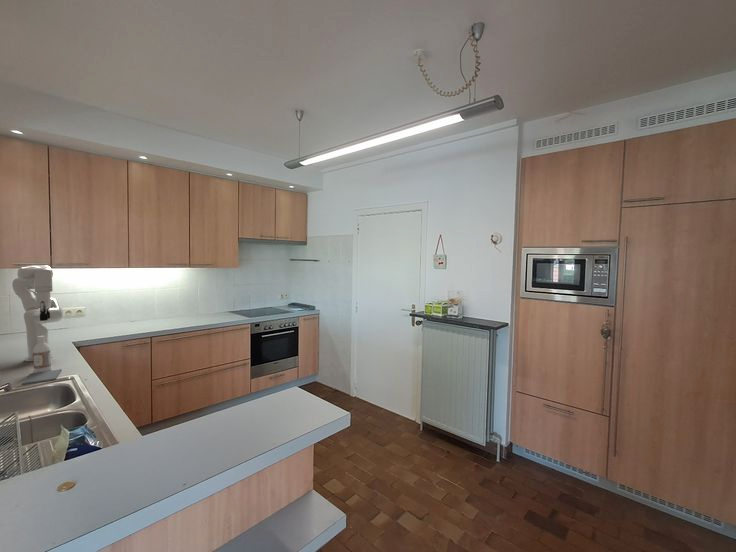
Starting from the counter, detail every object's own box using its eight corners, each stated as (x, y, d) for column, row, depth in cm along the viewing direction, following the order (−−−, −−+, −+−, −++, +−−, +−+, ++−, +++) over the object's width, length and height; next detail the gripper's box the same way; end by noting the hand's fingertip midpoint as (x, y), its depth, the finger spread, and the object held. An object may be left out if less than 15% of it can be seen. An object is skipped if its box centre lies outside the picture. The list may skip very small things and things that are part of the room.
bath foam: (30, 373, 184) (28, 337, 183) (39, 369, 191) (38, 335, 190) (45, 372, 186) (43, 337, 184) (54, 368, 192) (52, 334, 191)
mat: (30, 374, 182) (30, 373, 182) (61, 370, 189) (61, 369, 189) (21, 384, 168) (21, 383, 168) (55, 379, 175) (55, 378, 175)
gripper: (38, 288, 201) (39, 318, 202) (31, 290, 187) (32, 322, 188) (55, 287, 206) (56, 316, 206) (49, 290, 191) (50, 321, 192)
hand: (45, 319), depth 197 cm, fingers open, 6 cm apart
